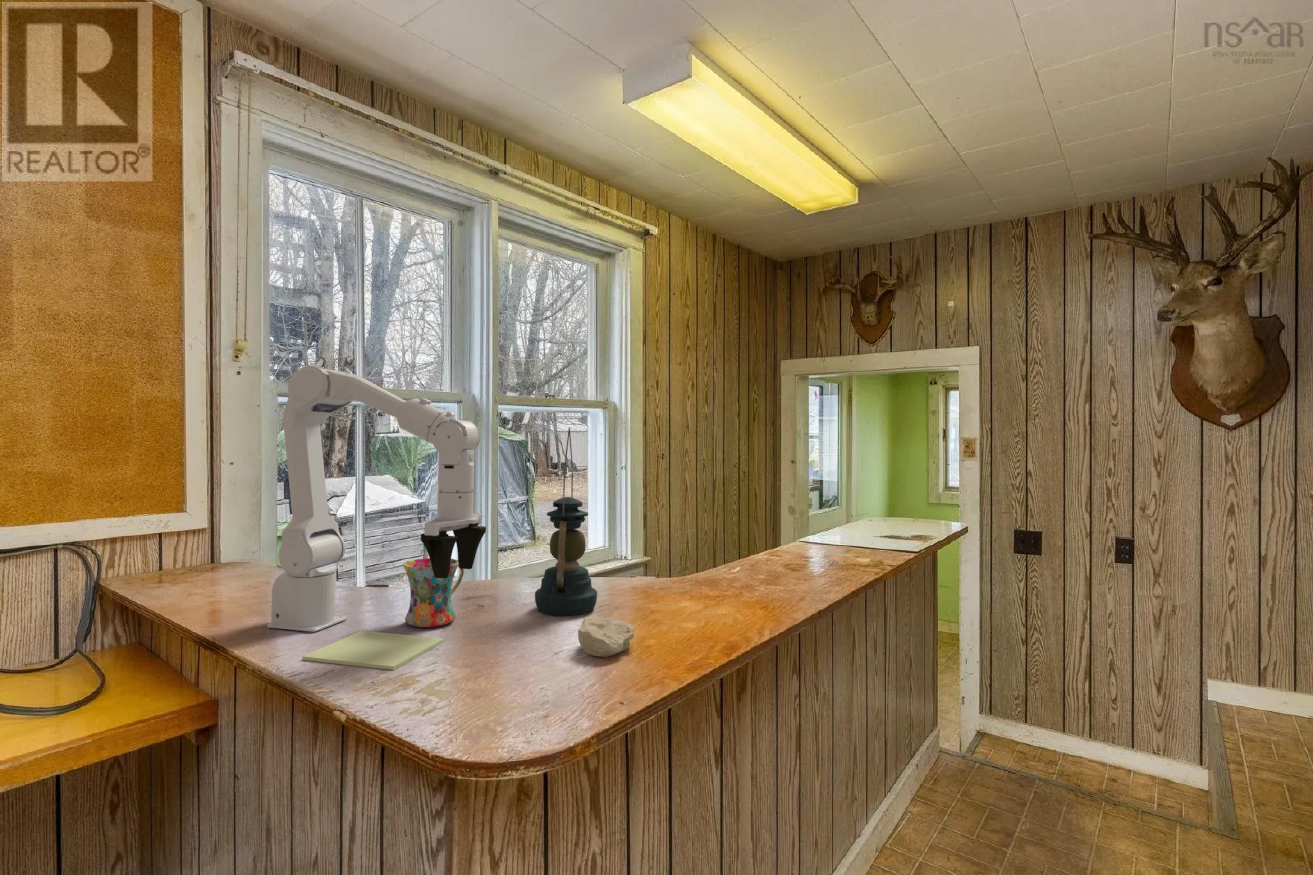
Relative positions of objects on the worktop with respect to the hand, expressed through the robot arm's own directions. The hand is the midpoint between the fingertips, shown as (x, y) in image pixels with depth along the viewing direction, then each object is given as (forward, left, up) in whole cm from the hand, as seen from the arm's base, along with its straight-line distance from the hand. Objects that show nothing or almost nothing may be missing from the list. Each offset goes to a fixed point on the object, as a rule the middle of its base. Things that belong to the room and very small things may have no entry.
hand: (453, 573), depth 108 cm
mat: (-6, -11, -10) cm, 16 cm away
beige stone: (+27, 0, -10) cm, 29 cm away
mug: (-6, +6, -10) cm, 13 cm away
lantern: (+13, +20, -10) cm, 25 cm away
